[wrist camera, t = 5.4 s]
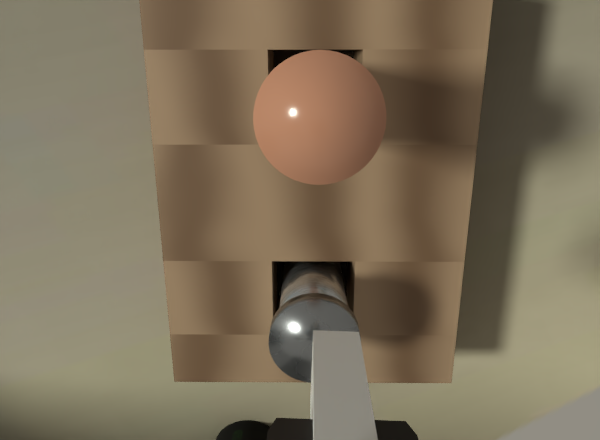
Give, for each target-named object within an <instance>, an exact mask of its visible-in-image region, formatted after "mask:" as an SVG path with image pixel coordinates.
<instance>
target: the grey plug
mask: <svg viewBox="0 0 600 440" xmlns="http://www.w3.org/2000/svg"><path fill="white" fill-rule="evenodd" d="M313 330H321V331H350V332H359V335H360V331H359V326H358V322H357V319H356V317H355V315H354V313H353V312H352V310H351V309H350V308H349V307H348V306H347V300H346V294H345V288H344V282H343V276H342V270H341V265H340V262H339V261H286V262H285V265H284V269H283V279H282V289H281V299H280V308H279V309H278V310H277V312H276V313H275V315H274V317H273V319H272V322H271V326H270V332H269V343H268V344H269V351H270V354H271V357H272V359H273V361H274V362H275V364H276V365H277V366H278V368H279V369H281V370H282V371H283V372H284V373H285V374H287V375H288V376H290V377H292V378H294V379H296V380H300V381H303V382H310V383H311V371H312V345H313ZM360 340H361V337H360Z"/></svg>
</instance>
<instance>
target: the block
mask: <svg viewBox="0 0 600 440" xmlns="http://www.w3.org/2000/svg"><path fill="white" fill-rule="evenodd" d="M139 2H140V13H141V24H142V34H143V45H144V56H145V67H146V78H147V89H148V100H149V110H150V121H151V132H152V143H153V154H154V165H155V176H156V186H157V197H158V208H159V219H160V230H161V241H162V252H163V262H164V273H165V284H166V295H167V306H168V317H169V328H170V338H171V349H172V360H173V371H174V382H303V381H300V380H296V379H294V378H292V377H290V376H288V375H287V374H285V373H284V372H283V371H282V370H281V369H279V368H278V366H277V365H276V364H275V362H274V361H273V359H272V357H271V354H270V351H269V344H268V343H269V332H270V326H271V322H272V319H273V317H274V315H275V313H276V312H277V310H278V309H279V308H280V299H281V298H277V261H348V267H347V299H346V300H347V306H348V307H349V308H350V309H351V310H352V312H353V313H354V315H355V317H356V319H357V322H358V326H359V331H360V337H361V346H362V352H363V358H364V363H365V369H366V375H367V380H368V383H451V382H452V372H453V363H454V354H455V345H456V336H457V326H458V317H459V308H460V299H461V290H462V280H463V271H464V262H465V253H466V244H467V235H468V225H469V216H470V207H471V198H472V189H473V179H474V170H475V161H476V152H477V143H478V134H479V124H480V115H481V106H482V97H483V88H484V78H485V69H486V60H487V51H488V42H489V32H490V23H491V14H492V5H493V0H139ZM273 50H354V59H355V60H356V61H358V62H359V63H361V64H362V65H363V66H364V67H365V68H366V69H367V70H368V71H369V72H370V73H371V74H372V76H373V77H374V78H375V80H376V81H377V83H378V85H379V87H380V89H381V91H382V94H383V97H384V101H385V106H386V128H385V132H384V136H383V139H382V142H381V145H380V147H379V148H378V150H377V152H376V154H375V155H374V157H373V158H372V159H371V161H370V162H369V163H368V164H367V165H366V166H365V167H364V168H363V169H361V170H360V171H359V172H358V173H356V174H354V175H353V176H351V177H349V178H347V179H345V180H343V181H339V182H336V183H332V184H325V185H313V184H306V183H302V182H299V181H296V180H293V179H291V178H289V177H287V176H285V175H284V174H282V173H281V172H279V171H278V170H277V169H276V168H275V167H274V166H273V165H272V164H271V163H270V162H269V161H268V160H267V158H266V157H265V156H264V154H263V153H262V151H261V149H260V147H259V145H258V142H257V139H256V136H255V131H254V124H253V111H254V105H255V100H256V97H257V94H258V92H259V89H260V87H261V85H262V84H263V82H264V80H265V79H266V77H267V76H268V75H269V74H270V72H271V71H272V70H273V69H274V65H273Z"/></svg>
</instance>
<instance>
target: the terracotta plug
mask: <svg viewBox="0 0 600 440" xmlns="http://www.w3.org/2000/svg"><path fill="white" fill-rule="evenodd" d="M253 124H254V131H255V136H256V139H257V142H258V145H259V147H260V149H261V151H262V153H263V154H264V156H265V157H266V158H267V160H268V161H269V162H270V163H271V164H272V165H273V166H274V167H275V168H276V169H277V170H278V171H279V172H281V173H282V174H284V175H285V176H287V177H289V178H291V179H293V180H296V181H299V182H302V183H306V184H313V185H325V184H332V183H336V182H339V181H343V180H345V179H347V178H349V177H351V176H353V175H354V174H356V173H358V172H359V171H360V170H361V169H363V168H364V167H365V166H366V165H367V164H368V163H369V162H370V161H371V159H372V158H373V157H374V155H375V154H376V152H377V150H378V148H379V147H380V145H381V142H382V139H383V136H384V132H385V128H386V106H385V101H384V97H383V94H382V91H381V89H380V87H379V85H378V83H377V81H376V80H375V78H374V77H373V76H372V74H371V73H370V72H369V71H368V70H367V69H366V68H365V67H364V66H363V65H362V64H361V63H359V62H358V61H356V60H355V59H353V58H351V57H349V56H347V55H345V54H342V53H339V52H335V51H330V50H311V51H306V52H302V53H299V54H296V55H294V56H292V57H290V58H288V59H286V60H284V61H283V62H282V63H280V64H279V65H278V66H277V67H275V68H274V69H273V70H272V71H271V72H270V74H269V75H268V76H267V77H266V79H265V80H264V82H263V84H262V85H261V87H260V89H259V92H258V94H257V97H256V100H255V105H254V111H253Z"/></svg>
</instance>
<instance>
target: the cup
mask: <svg viewBox="0 0 600 440" xmlns="http://www.w3.org/2000/svg"><path fill="white" fill-rule="evenodd" d="M269 428H270V427H269V426H268V425H265V424H263V423H260V422H256V421H239V422H235V423H233V424H230V425H228V426H227V427H225V428H224V429H223V430H222V431H221V432H220V433H219V435H218V436H217V439H216V440H267V432H268V430H269Z"/></svg>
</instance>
